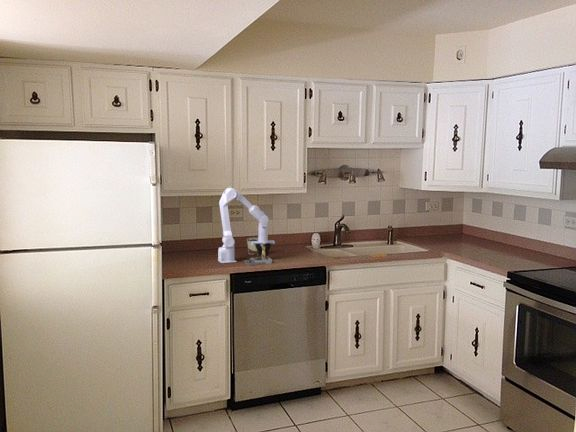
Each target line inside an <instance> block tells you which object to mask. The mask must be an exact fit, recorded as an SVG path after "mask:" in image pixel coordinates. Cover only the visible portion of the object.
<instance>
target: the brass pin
mask: <svg viewBox="0 0 576 432" xmlns="http://www.w3.org/2000/svg"><path fill="white" fill-rule="evenodd" d="M265 254H266V247H265V245H263V246H261V256H260V257H266V255H265Z"/></svg>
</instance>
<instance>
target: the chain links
mask: <svg viewBox="0 0 576 432" xmlns="http://www.w3.org/2000/svg"><path fill="white" fill-rule="evenodd" d="M272 263H273V259H272V258H270V257H269V256H265V257H261V256H257V257H249V259H246V260H245V259H243V264H246V265H247V266H256V265H267V264H272Z"/></svg>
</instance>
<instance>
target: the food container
mask: <svg viewBox="0 0 576 432" xmlns="http://www.w3.org/2000/svg"><path fill="white" fill-rule="evenodd" d="M252 241H258V237H248V238H247V239H246V242H247V252H248V255H254V254H257V255H256V256H259V255H258V251H257V248H256V246H255V245H251V242H252ZM260 245H261V246H265V244H260Z"/></svg>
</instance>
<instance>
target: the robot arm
mask: <svg viewBox="0 0 576 432" xmlns="http://www.w3.org/2000/svg"><path fill="white" fill-rule="evenodd" d="M234 200H236V201H239V202H240V203H242V204H243V206H245V207H246V208H247V209H248V213H249V214H250V215H252V217H253V218H254V219H256V220H257V222H258V227H257V228H258V232H257V233H258V234H257V238H258V241H252V242H251V245H255V246H256V248H257V251H258V255H257V256H258V257H261V245H260V244H264V246H265V247H266V254H265V257H269V256H268V255H269V251H270V249H271V247H272V245H273V244H276V243H275V242H276V241H275V240H273V239H272V240H271V239H269V238H268V237H269V236H268V235H269V233H268V232H269V231H268V230H269V222H270V219H269V217H268V216H267V215H266V214H265V211H262V210H261V209H260V207H259V206H258V205H255V204H254V205H252V203H251V202H250V201H249V200H248V199H247V198H246V197H245V196H244V195H243V194H241V193H240V192H239V191H238V190H236V189H235V188H233V187H227V188H226V189H224V191H223V192H222V195H221V197H220V199H219V201H218V202H219V203H218V204H219V211H220V212H219V213H220V218H221V219H220V220H221V226H222V239H221V241H222V243H223V245H222V246H221V247H218V250H217V253H218V254H217V256H218V257H217V261H218V262H219V263H221V264H229V263H230V264H231V263H237V260H236V259H235V242H236V241H235V238H233V233H232V227H231V219H230V213H229V207H228V206H229V204H230V203H231V202H232V201H234Z"/></svg>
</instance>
